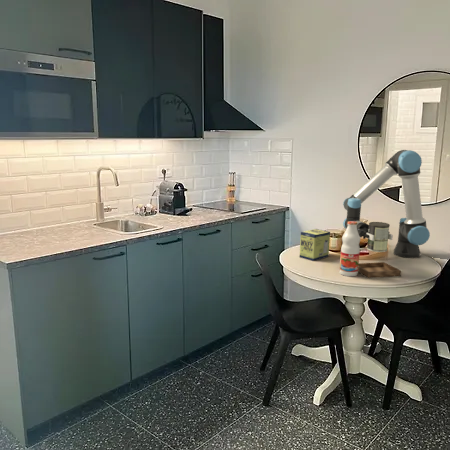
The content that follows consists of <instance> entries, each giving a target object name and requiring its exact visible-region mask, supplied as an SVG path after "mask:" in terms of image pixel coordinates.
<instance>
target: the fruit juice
mask: <svg viewBox="0 0 450 450" xmlns="http://www.w3.org/2000/svg"><path fill="white" fill-rule="evenodd" d="M347 224H348V227H347V229H346V230H345V232H344V233H343V234H342V237H341V241H342V245H341V249H340V259H339V260H340V261H339V274H340V275H342V276H345V277H356V276H357V275H358V274H359V273H358V265H359V262H360V253H361V251H360V249H361V247H360V242H361V237H360V236H359V234H358V230H357V222H355V221H348V223H347Z"/></svg>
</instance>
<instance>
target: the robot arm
mask: <svg viewBox="0 0 450 450" xmlns="http://www.w3.org/2000/svg"><path fill="white" fill-rule="evenodd" d="M422 164H423V160H422V157H421V155H420V154H419V153H417V152H416V151H415V150H408V149H401V150H399V151H397V152H396V153H394V154H393V155H392V156H391V157H390V158H389V159H387V161H386V162H384V166H383V167H382V168H380V170H378V171H377V172H376V173H375V174H374V175H373V176H371V178H369V180H367V181H365V182H364V184H363V185H362V186H361V187H359V188H358V189H357V190H356V191H355V192H354V193H352V195H351V196H350V197H346V198H345V199H344V201H343V204H342V205H343V208H344V210H345V211H346V217H345V218H344V221H343V222H342V225H343V227H344V229H347V227H348V224H347V223H348V221H355V222H357V230H358V234H359V236H360V238H363V240H366V239H367V240H368V239H370V240H372V241H374V235H372V234H369V233H368V232H369V223H366V222H363V221H361V211H362V204H363V203H364V202H365V201H366V200H367V199H368V198H370V196H372V195H373V194H374V193H375V192H376V191H377V190H378V189H380V188H381V187H382V186H383V185H384V184H385V183H386V182H388V181H389V180H390V179H391V178H392V177H393V176H396V175H398V177H399V178H401V184H402V193H403V200H404V209H405V216H406V217H402V218H400V219H399V222H398V224H399V227H398V236H397V243H396V245H395V247H394V249H393V255H394V256H398V257H401V258H405V259H407V258H408V259H414V258H415V259H417V258H420V257H421V251H420V247H419V246H421V245H424V244H426V243H427V242H428V240H429V239H430V236H431V235H430V234H431V233H430V230H429V229H428V228H427V221H426V219H425V217H423V209H422V203H421V202H422V201H421V192H420V191H421V190H420V183H419V176H420V175H421V167H422ZM393 236H394V235H393V234H392V233H390V231H389V234H388V240H390V241H392V240H393Z"/></svg>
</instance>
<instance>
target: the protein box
mask: <svg viewBox="0 0 450 450" xmlns="http://www.w3.org/2000/svg"><path fill="white" fill-rule="evenodd" d="M330 237H331V231H328V230H323V229H318V228H314V229H309V230H304V231H300V241H299V258H300V259H301V258H302V259H304V260H309V261H312V262H315V261H318V260H321V259H325V258H328V257H329V256H330V241H331V240H330V239H331V238H330Z"/></svg>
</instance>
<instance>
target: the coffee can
mask: <svg viewBox="0 0 450 450" xmlns="http://www.w3.org/2000/svg"><path fill="white" fill-rule="evenodd" d="M368 225H369V232H368V233H369V234H372V235H374V241H372V240H370V239H368V238H367V244H366V249H367V250H368V251H369V252H370V251H371V252H375V253H385V252H387V251H388V244H389V243H388V242H389V239H388V234H390V233H389V232H390V224H389V223H388V222H382V221H371V222H369V223H368Z"/></svg>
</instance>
